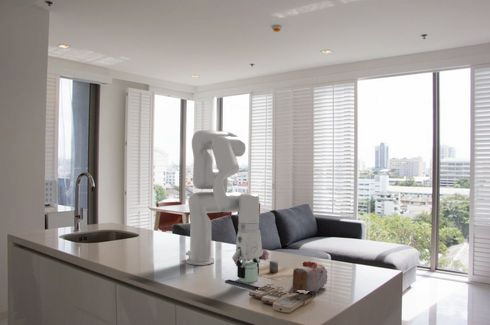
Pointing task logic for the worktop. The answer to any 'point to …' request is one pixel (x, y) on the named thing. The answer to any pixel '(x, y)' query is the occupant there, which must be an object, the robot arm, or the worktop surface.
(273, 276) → the post stand
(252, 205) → the robot arm
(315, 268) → the food item
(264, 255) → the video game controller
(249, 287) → the mat
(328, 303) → the worktop surface
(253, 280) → the cap
